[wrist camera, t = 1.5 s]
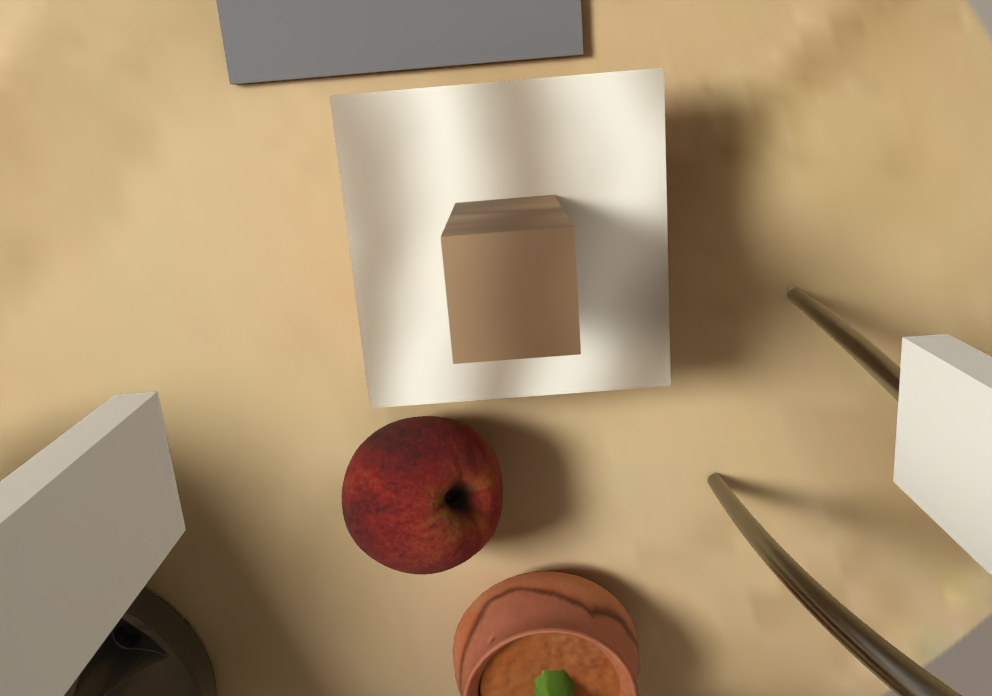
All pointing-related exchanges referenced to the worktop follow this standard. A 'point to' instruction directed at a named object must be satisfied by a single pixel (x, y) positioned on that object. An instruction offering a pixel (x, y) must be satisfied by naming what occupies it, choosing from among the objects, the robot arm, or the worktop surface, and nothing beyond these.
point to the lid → (508, 236)
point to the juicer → (890, 665)
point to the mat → (389, 35)
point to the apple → (422, 494)
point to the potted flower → (546, 640)
